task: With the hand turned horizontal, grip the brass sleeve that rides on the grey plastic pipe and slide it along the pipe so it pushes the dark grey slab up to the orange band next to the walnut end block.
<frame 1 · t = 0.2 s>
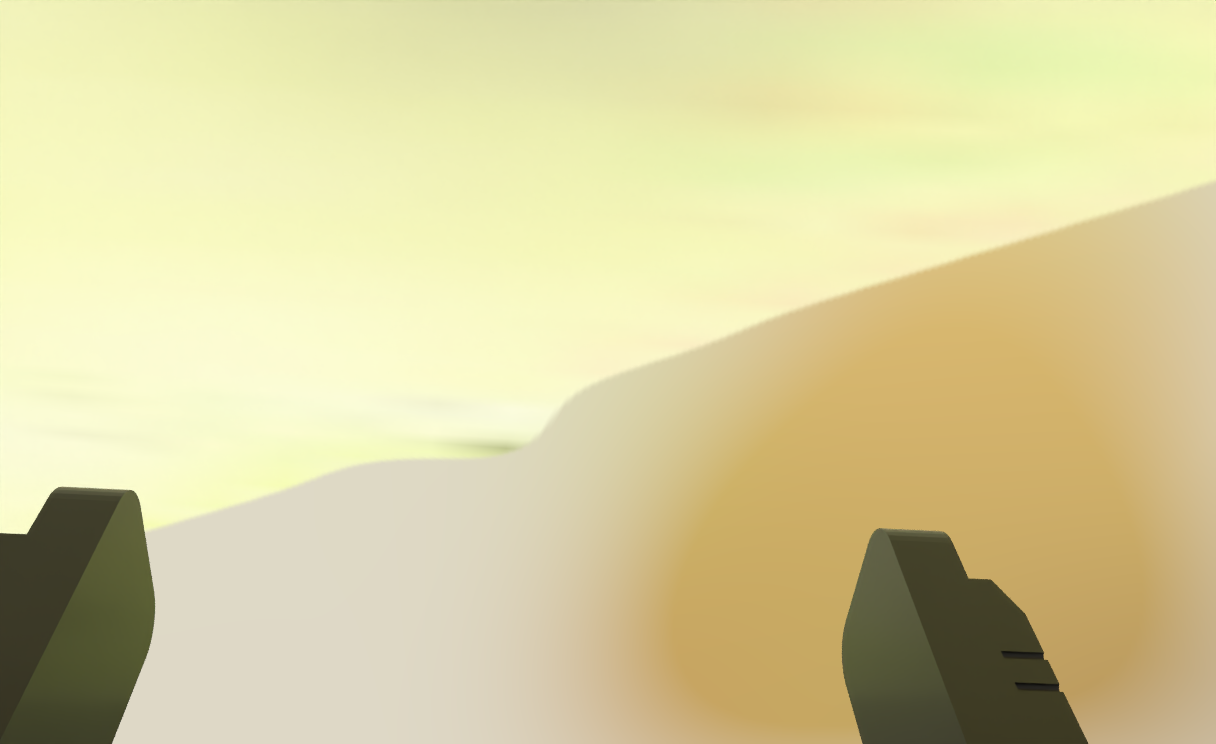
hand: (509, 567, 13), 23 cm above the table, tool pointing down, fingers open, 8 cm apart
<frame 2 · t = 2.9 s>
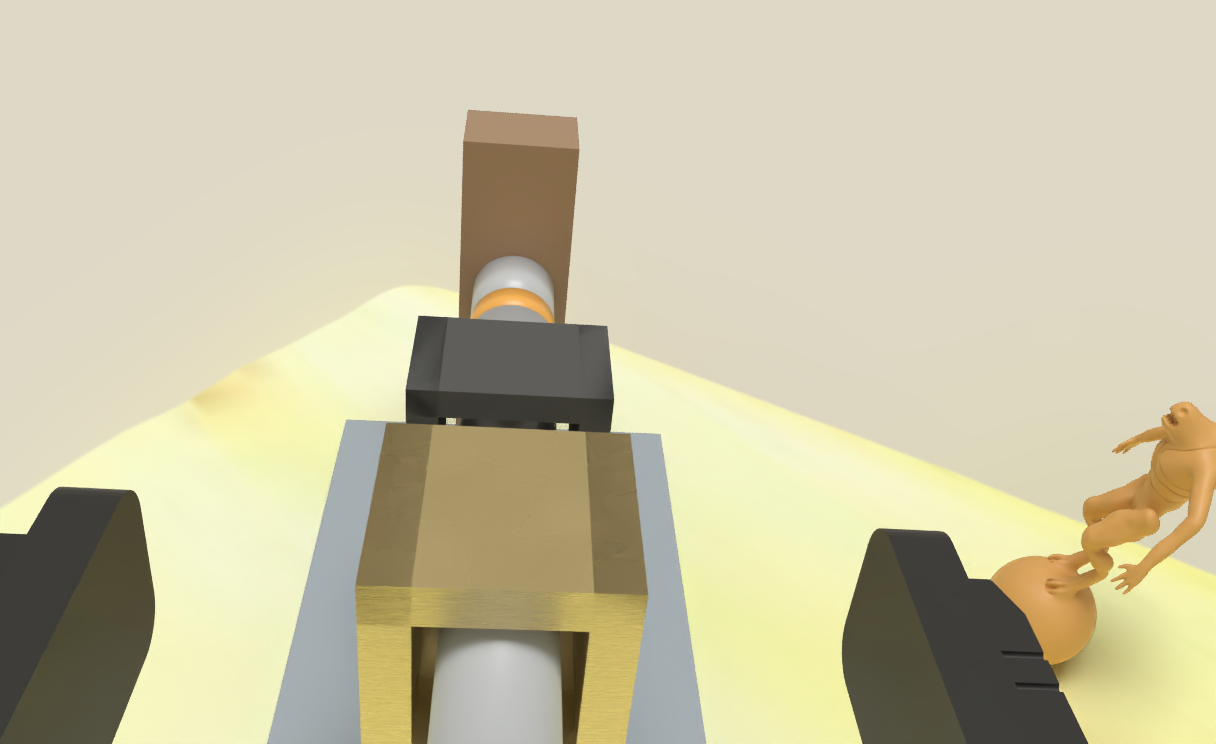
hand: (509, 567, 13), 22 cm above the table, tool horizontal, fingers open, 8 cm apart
figurine: (1048, 660, 43), on the table
dark grey slab: (507, 435, 35), point 10 cm above the table, slide at 0.0 cm
pipe rig: (493, 683, 40), on the table
sleeve: (501, 598, 29), point 10 cm above the table, slide at 0.0 cm
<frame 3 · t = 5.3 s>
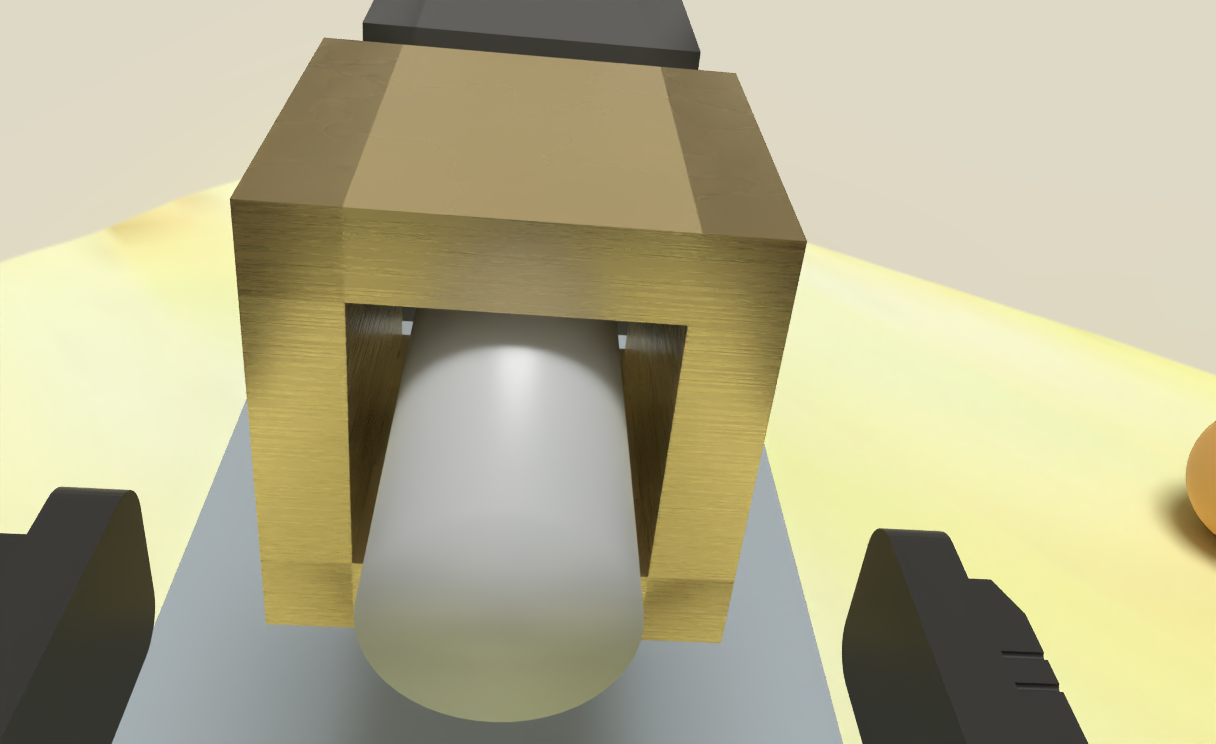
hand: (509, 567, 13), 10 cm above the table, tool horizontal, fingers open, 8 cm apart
dark grey slab: (525, 152, 23), point 10 cm above the table, slide at 0.0 cm
pipe rig: (499, 562, 27), on the table
sleeve: (516, 330, 17), point 10 cm above the table, slide at 0.0 cm
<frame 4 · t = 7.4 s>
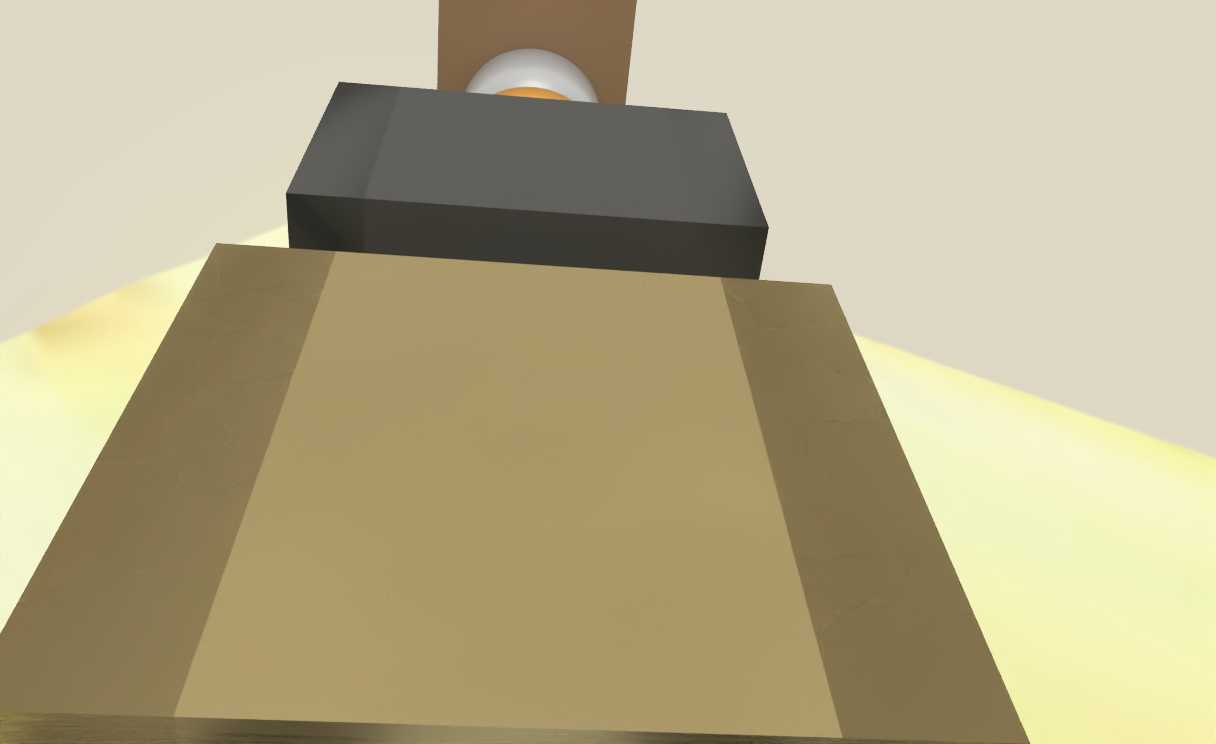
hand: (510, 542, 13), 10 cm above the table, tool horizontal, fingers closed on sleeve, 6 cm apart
dark grey slab: (521, 332, 17), point 10 cm above the table, slide at 0.0 cm
sleeve: (506, 700, 11), point 10 cm above the table, slide at 0.0 cm, touching gripper
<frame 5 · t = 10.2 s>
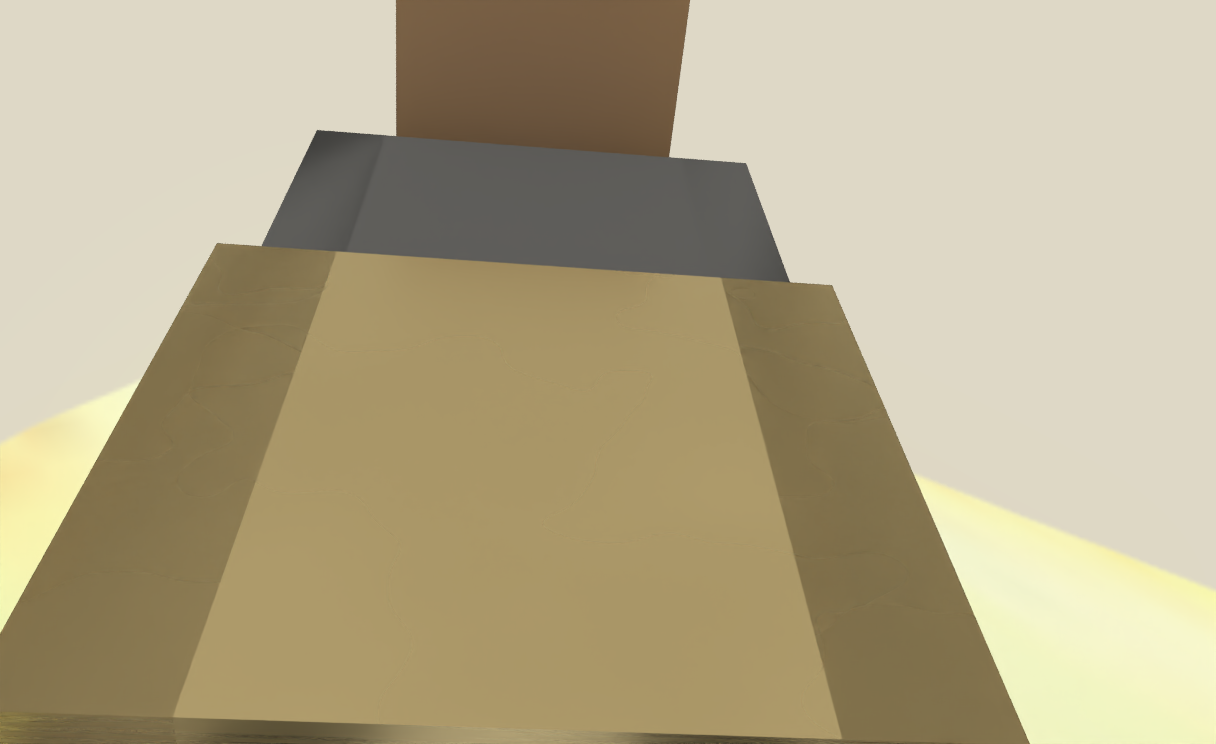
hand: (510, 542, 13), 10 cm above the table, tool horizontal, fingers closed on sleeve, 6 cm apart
dark grey slab: (519, 407, 15), point 10 cm above the table, slide at 5.7 cm
sleeve: (506, 700, 11), point 10 cm above the table, slide at 7.7 cm, touching gripper
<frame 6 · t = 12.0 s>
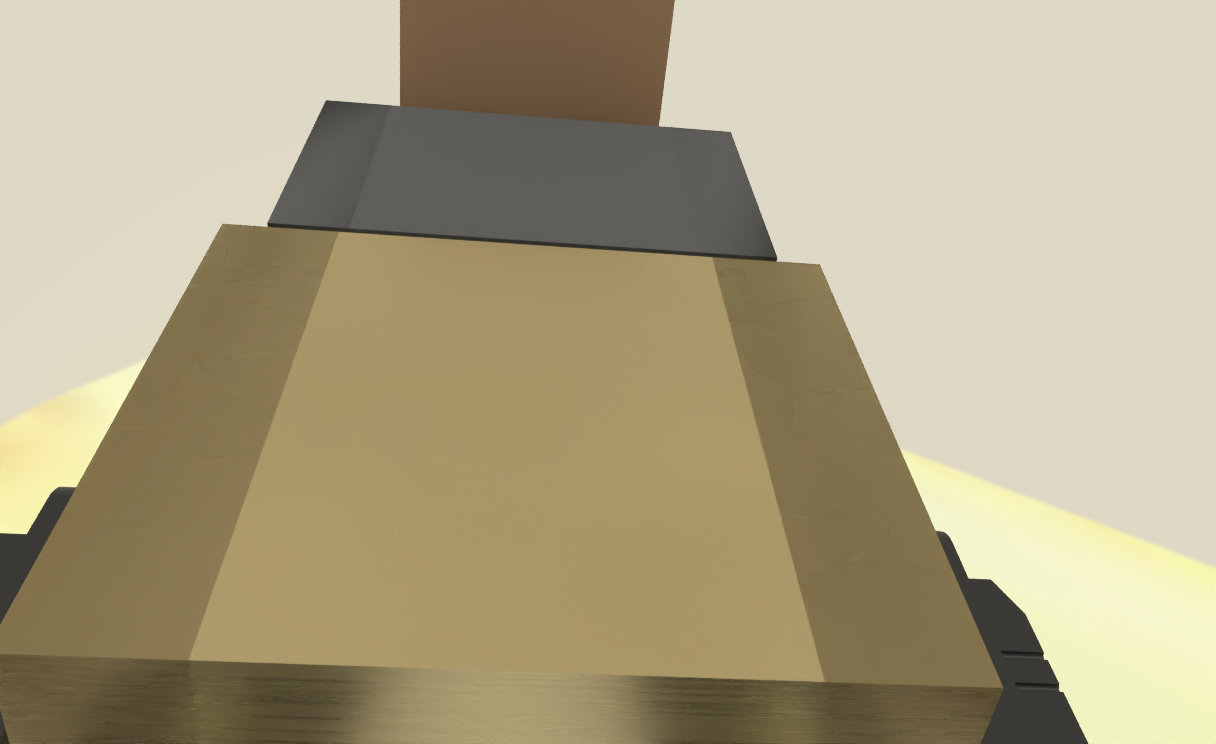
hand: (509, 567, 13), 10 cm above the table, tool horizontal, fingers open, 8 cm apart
dark grey slab: (517, 361, 16), point 10 cm above the table, slide at 5.7 cm
sleeve: (504, 665, 11), point 10 cm above the table, slide at 7.0 cm
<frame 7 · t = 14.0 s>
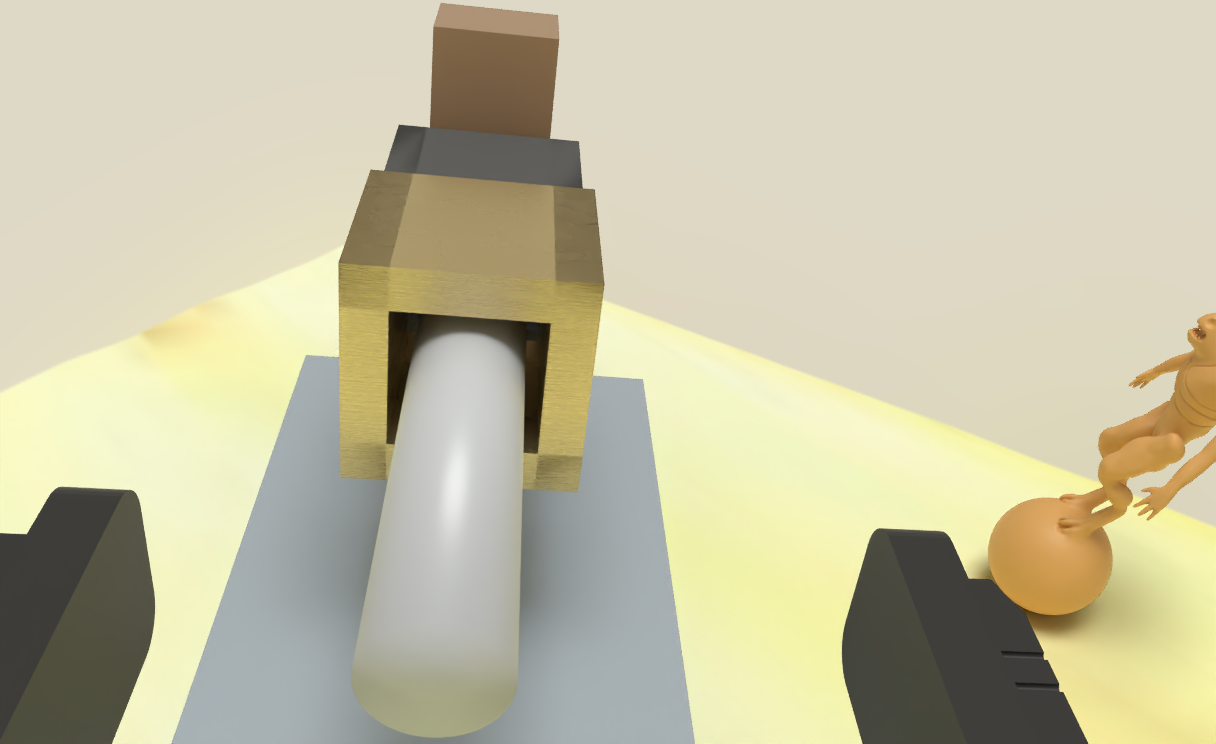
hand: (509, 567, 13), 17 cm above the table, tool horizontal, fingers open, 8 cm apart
figurine: (1059, 613, 40), on the table
dark grey slab: (481, 241, 37), point 10 cm above the table, slide at 5.7 cm
pipe rig: (454, 619, 36), on the table
sleeve: (472, 328, 32), point 10 cm above the table, slide at 7.0 cm
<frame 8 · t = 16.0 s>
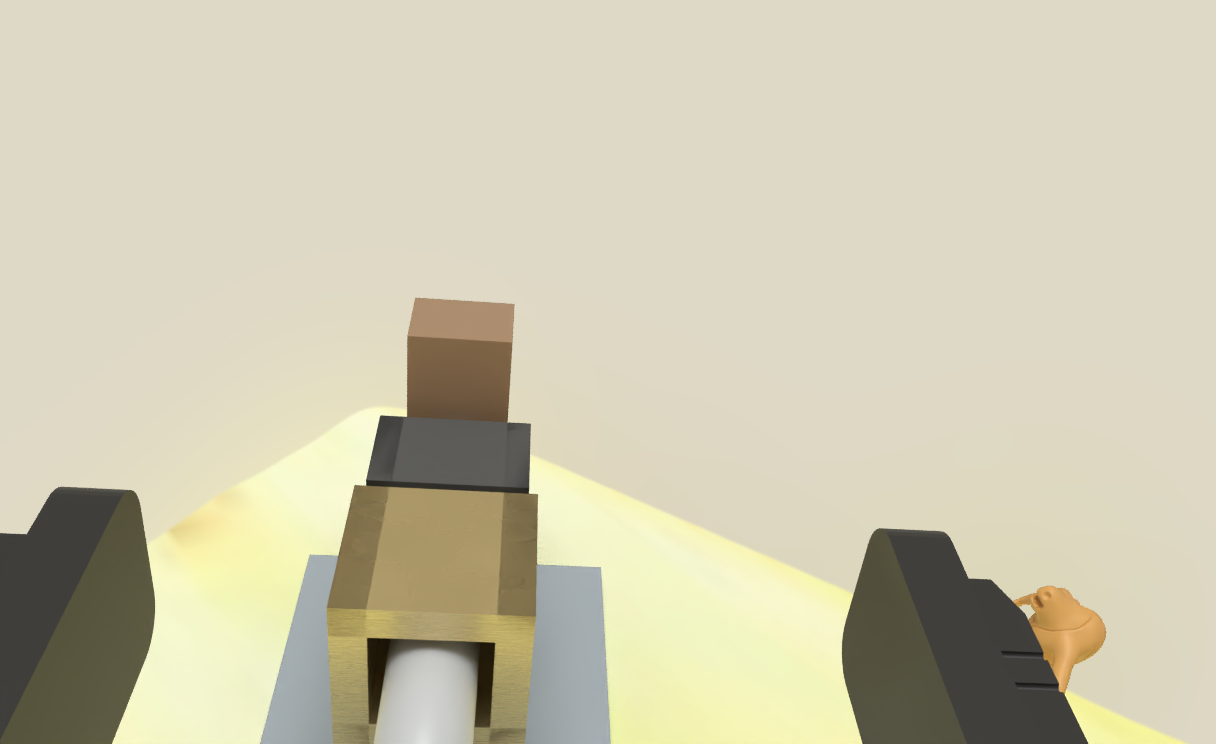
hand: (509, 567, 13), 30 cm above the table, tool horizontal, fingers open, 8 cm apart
dark grey slab: (450, 510, 44), point 10 cm above the table, slide at 5.7 cm
sleeve: (438, 617, 39), point 10 cm above the table, slide at 7.0 cm
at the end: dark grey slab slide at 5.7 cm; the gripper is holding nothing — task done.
